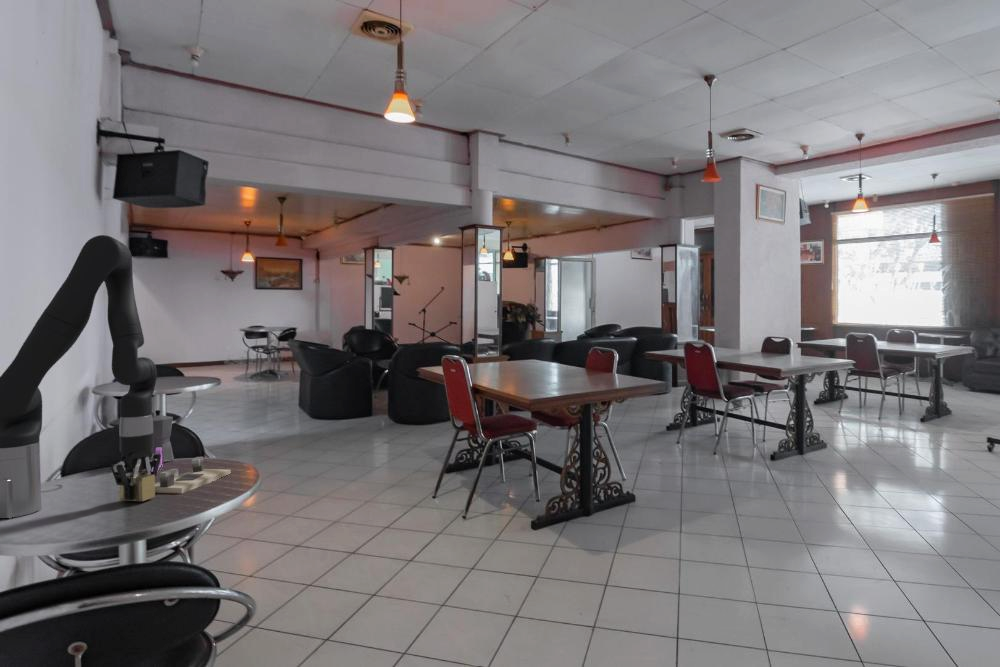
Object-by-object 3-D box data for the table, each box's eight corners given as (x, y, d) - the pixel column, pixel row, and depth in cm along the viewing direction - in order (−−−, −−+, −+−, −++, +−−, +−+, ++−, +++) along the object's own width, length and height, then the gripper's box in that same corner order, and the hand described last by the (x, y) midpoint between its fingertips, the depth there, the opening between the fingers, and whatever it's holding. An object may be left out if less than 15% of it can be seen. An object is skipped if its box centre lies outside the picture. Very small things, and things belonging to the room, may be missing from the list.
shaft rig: (181, 493, 151) (181, 473, 151) (144, 492, 154) (144, 472, 154) (230, 474, 171) (230, 456, 171) (197, 473, 173) (196, 456, 173)
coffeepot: (155, 457, 198) (154, 407, 197) (182, 456, 198) (181, 407, 198) (129, 468, 182) (128, 414, 182) (159, 467, 183) (157, 413, 183)
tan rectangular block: (155, 496, 147) (154, 474, 147) (142, 501, 143) (141, 478, 143) (133, 495, 148) (132, 473, 148) (119, 500, 144) (119, 477, 144)
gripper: (125, 438, 138) (126, 506, 138) (169, 428, 152) (170, 490, 152) (100, 437, 139) (101, 504, 139) (146, 427, 153) (147, 489, 153)
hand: (137, 496), depth 146 cm, fingers closed on tan rectangular block, 4 cm apart
